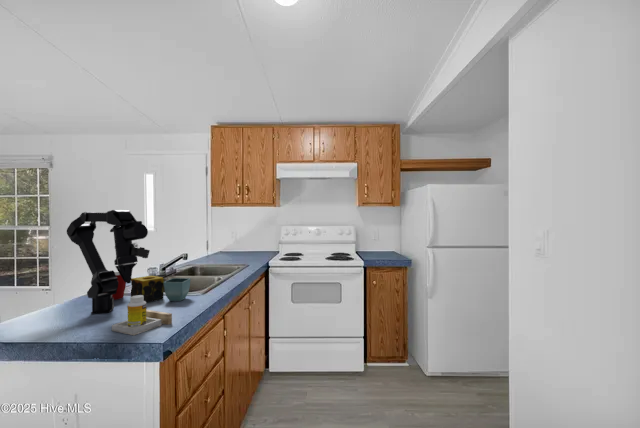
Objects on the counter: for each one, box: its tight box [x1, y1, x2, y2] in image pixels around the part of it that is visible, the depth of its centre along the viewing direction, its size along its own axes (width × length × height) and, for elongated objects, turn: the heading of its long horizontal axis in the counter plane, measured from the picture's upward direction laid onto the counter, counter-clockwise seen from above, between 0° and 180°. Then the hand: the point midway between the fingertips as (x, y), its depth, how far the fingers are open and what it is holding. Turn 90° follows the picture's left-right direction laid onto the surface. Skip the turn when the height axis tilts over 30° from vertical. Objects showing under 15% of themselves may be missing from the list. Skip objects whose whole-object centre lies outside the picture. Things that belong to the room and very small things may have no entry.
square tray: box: [111, 317, 162, 336], centre depth 114 cm, size 10×10×2 cm
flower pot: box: [163, 277, 192, 302], centre depth 151 cm, size 9×9×9 cm
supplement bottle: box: [127, 295, 147, 328], centre depth 114 cm, size 6×6×10 cm
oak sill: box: [146, 309, 173, 325], centre depth 120 cm, size 14×2×4 cm, turn 67°
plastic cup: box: [112, 271, 127, 301], centre depth 155 cm, size 11×11×12 cm
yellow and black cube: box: [130, 275, 165, 304], centre depth 151 cm, size 10×10×10 cm
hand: (127, 282), depth 128 cm, fingers open, 9 cm apart
